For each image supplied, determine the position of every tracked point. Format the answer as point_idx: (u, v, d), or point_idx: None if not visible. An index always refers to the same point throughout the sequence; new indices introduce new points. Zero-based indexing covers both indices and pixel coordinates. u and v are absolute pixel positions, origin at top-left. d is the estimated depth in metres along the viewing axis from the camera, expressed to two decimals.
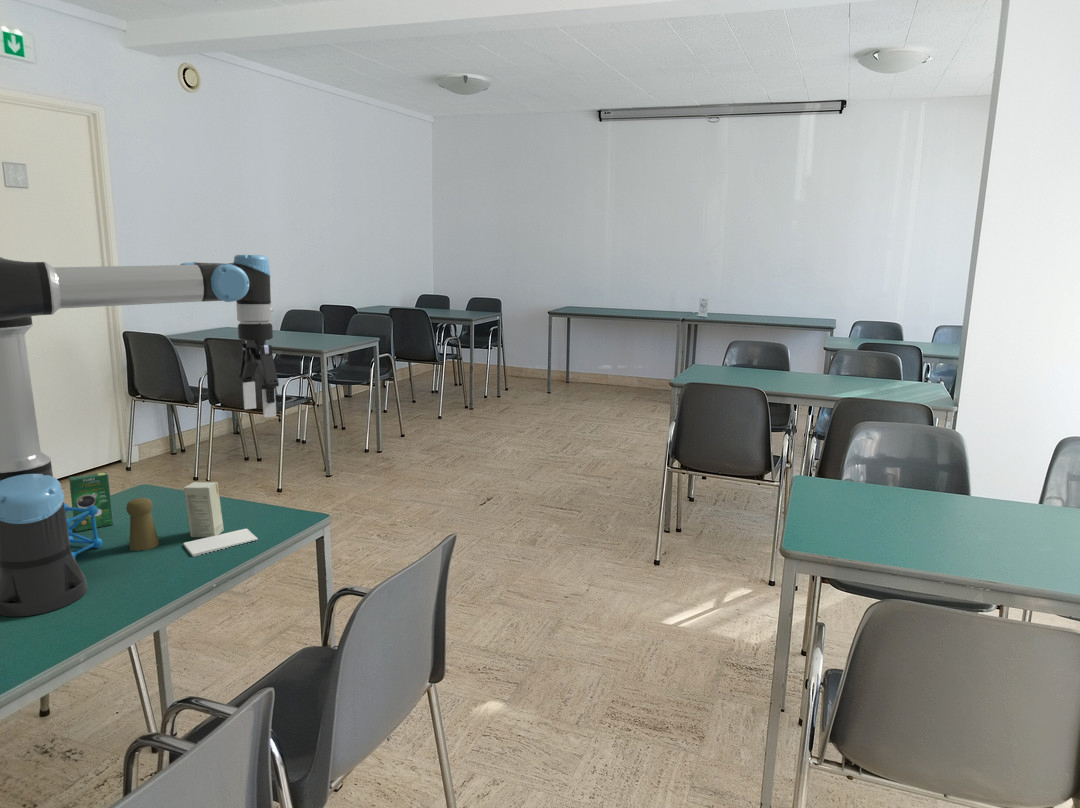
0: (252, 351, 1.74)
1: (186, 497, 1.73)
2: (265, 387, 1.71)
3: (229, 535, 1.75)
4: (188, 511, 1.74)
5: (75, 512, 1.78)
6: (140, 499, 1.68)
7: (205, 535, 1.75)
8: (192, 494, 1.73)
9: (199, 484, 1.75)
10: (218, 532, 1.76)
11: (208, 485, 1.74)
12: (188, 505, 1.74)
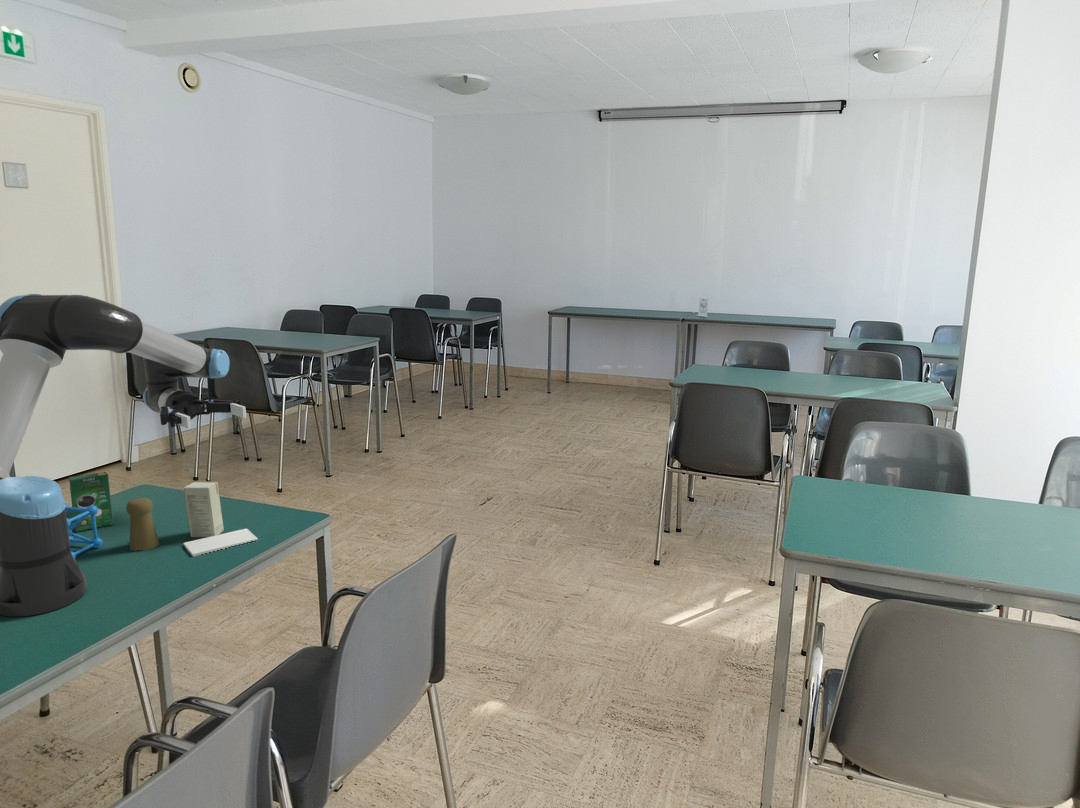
0: None
1: (186, 497, 1.73)
2: None
3: (229, 535, 1.75)
4: (188, 511, 1.74)
5: (75, 512, 1.78)
6: (140, 499, 1.68)
7: (205, 535, 1.75)
8: (192, 494, 1.73)
9: (199, 484, 1.75)
10: (218, 532, 1.76)
11: (208, 485, 1.74)
12: (188, 505, 1.74)
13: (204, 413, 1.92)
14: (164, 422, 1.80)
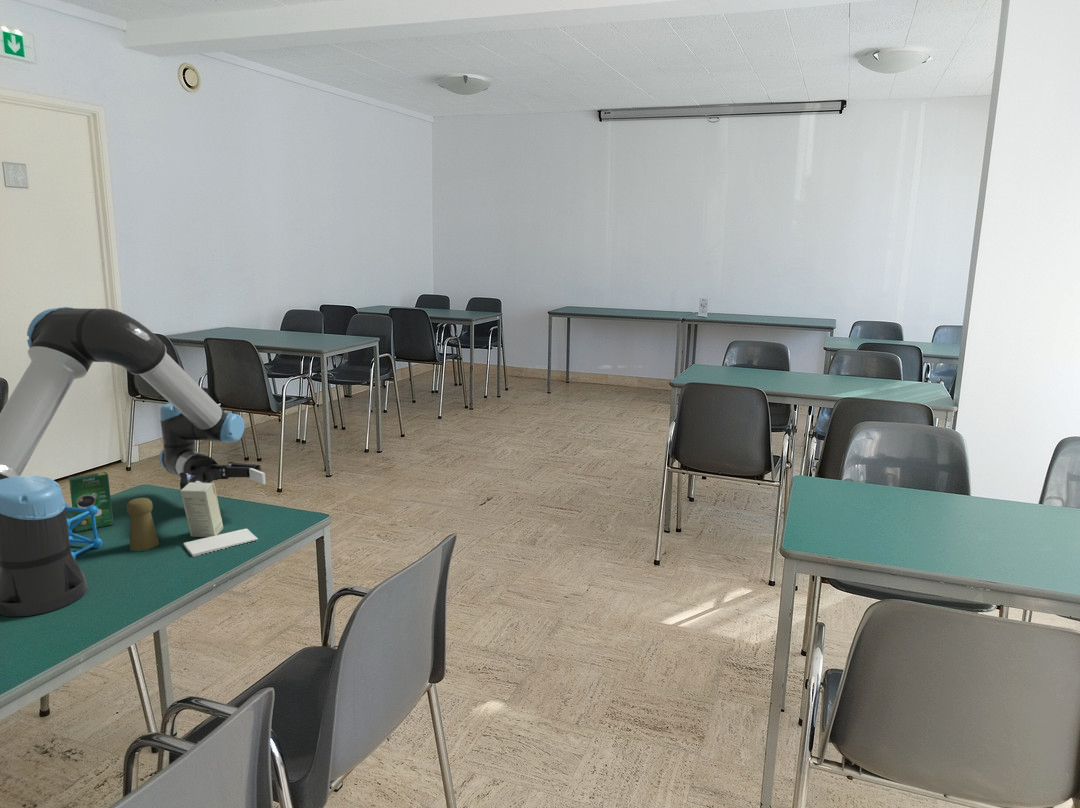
0: None
1: (183, 499, 1.72)
2: None
3: (229, 535, 1.75)
4: (186, 512, 1.73)
5: (75, 512, 1.78)
6: (140, 499, 1.68)
7: (205, 535, 1.75)
8: (189, 497, 1.71)
9: (195, 486, 1.73)
10: (218, 531, 1.76)
11: (205, 487, 1.72)
12: (186, 507, 1.73)
13: (222, 478, 1.91)
14: None
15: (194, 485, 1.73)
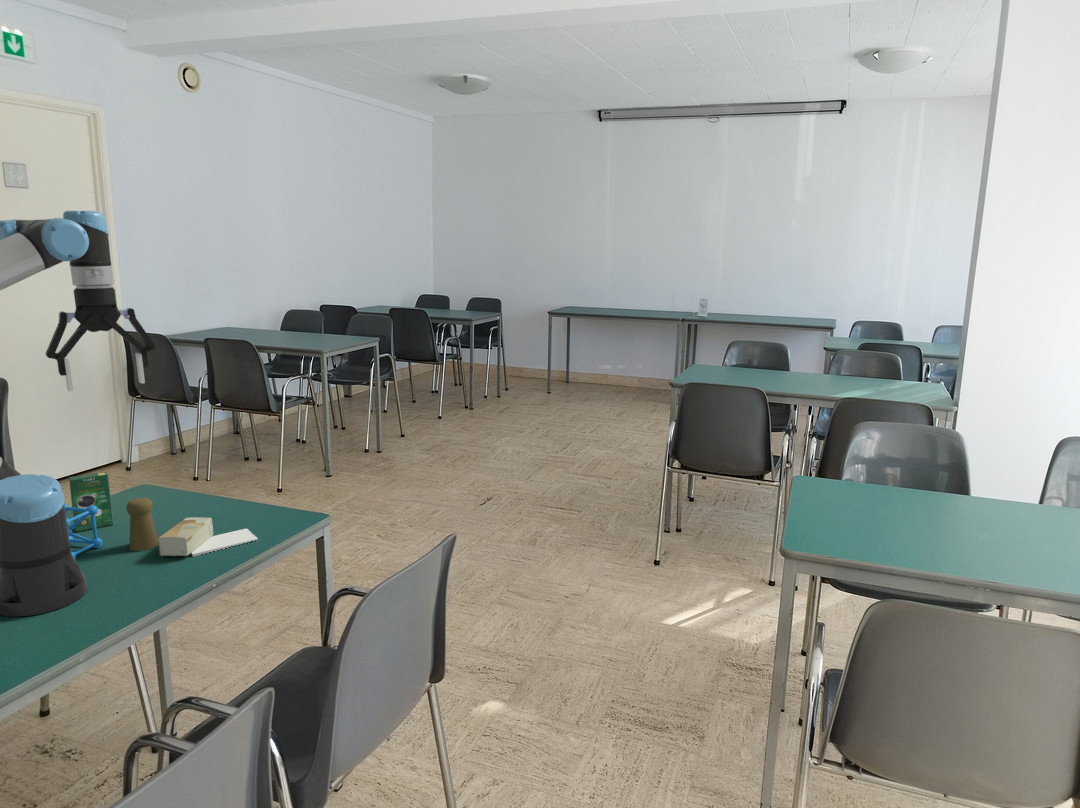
0: None
1: None
2: None
3: (229, 535, 1.75)
4: None
5: (75, 512, 1.78)
6: (140, 499, 1.69)
7: None
8: None
9: (170, 546, 1.63)
10: (211, 529, 1.74)
11: (182, 548, 1.63)
12: None
13: None
14: None
15: (168, 544, 1.63)
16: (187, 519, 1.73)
